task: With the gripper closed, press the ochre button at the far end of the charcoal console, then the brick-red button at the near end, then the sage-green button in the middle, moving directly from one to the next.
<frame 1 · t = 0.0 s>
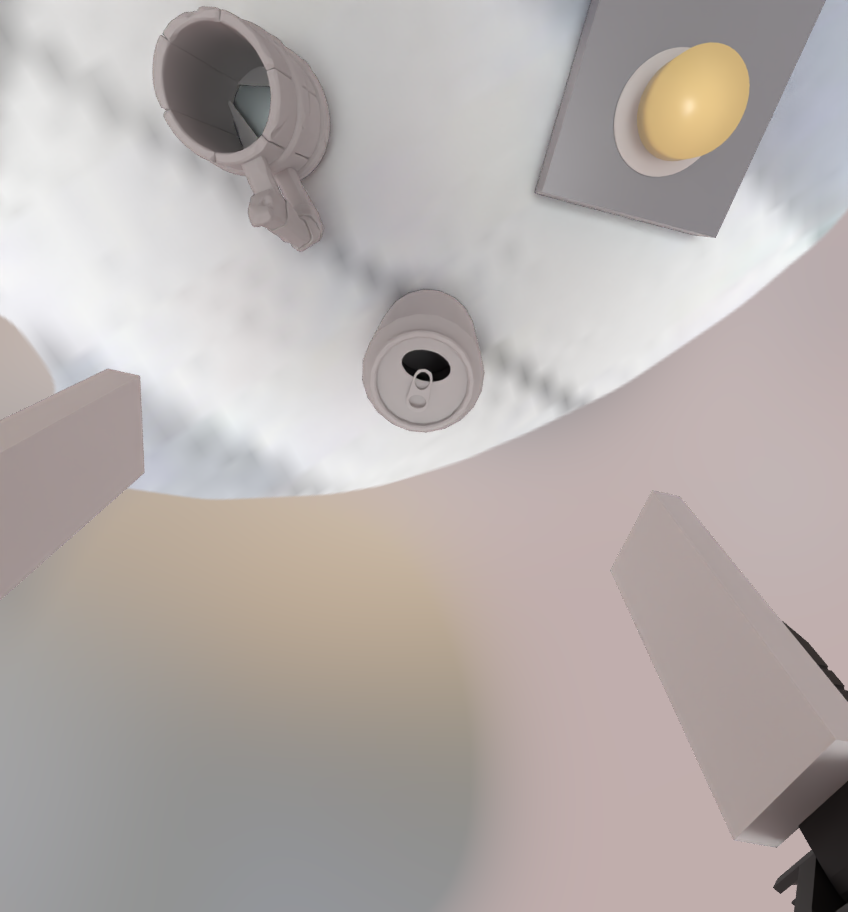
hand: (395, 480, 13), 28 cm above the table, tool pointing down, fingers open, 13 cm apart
can: (427, 336, 39), on the table
button ochre: (690, 106, 26), point 6 cm above the table, slide at 0.0 cm
mug: (292, 155, 34), on the table
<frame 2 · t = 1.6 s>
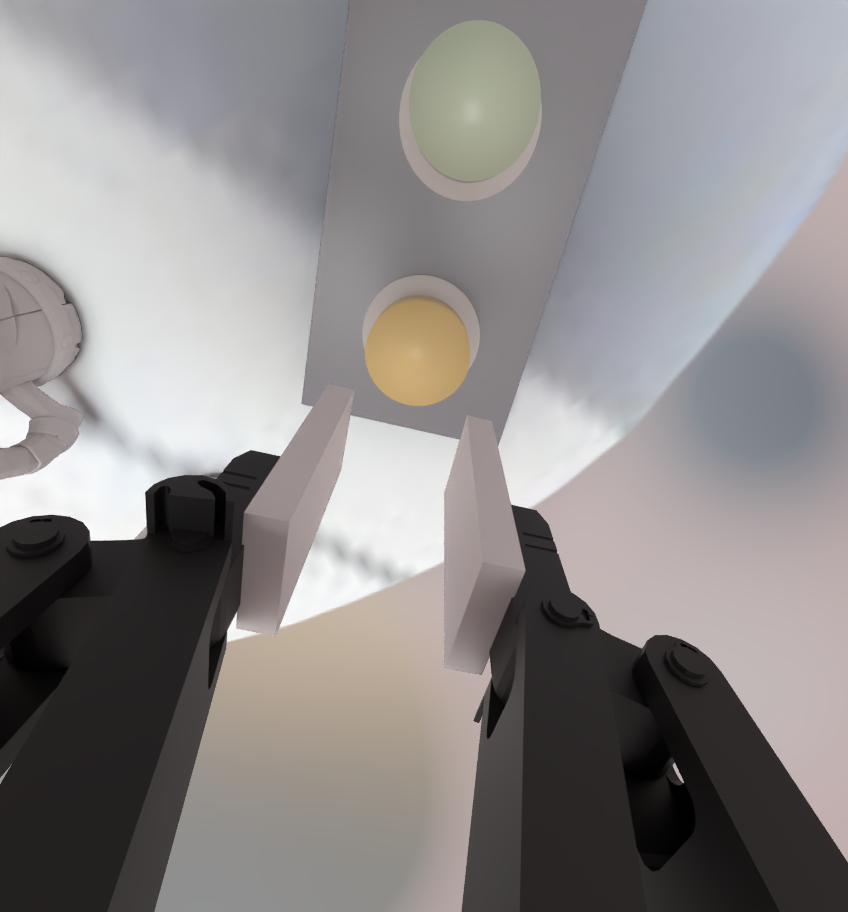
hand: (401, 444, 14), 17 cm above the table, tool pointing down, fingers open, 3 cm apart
console: (466, 131, 25), on the table
button sage: (473, 110, 19), point 6 cm above the table, slide at 0.0 cm
button ochre: (418, 351, 24), point 6 cm above the table, slide at 0.0 cm
mug: (48, 347, 31), on the table
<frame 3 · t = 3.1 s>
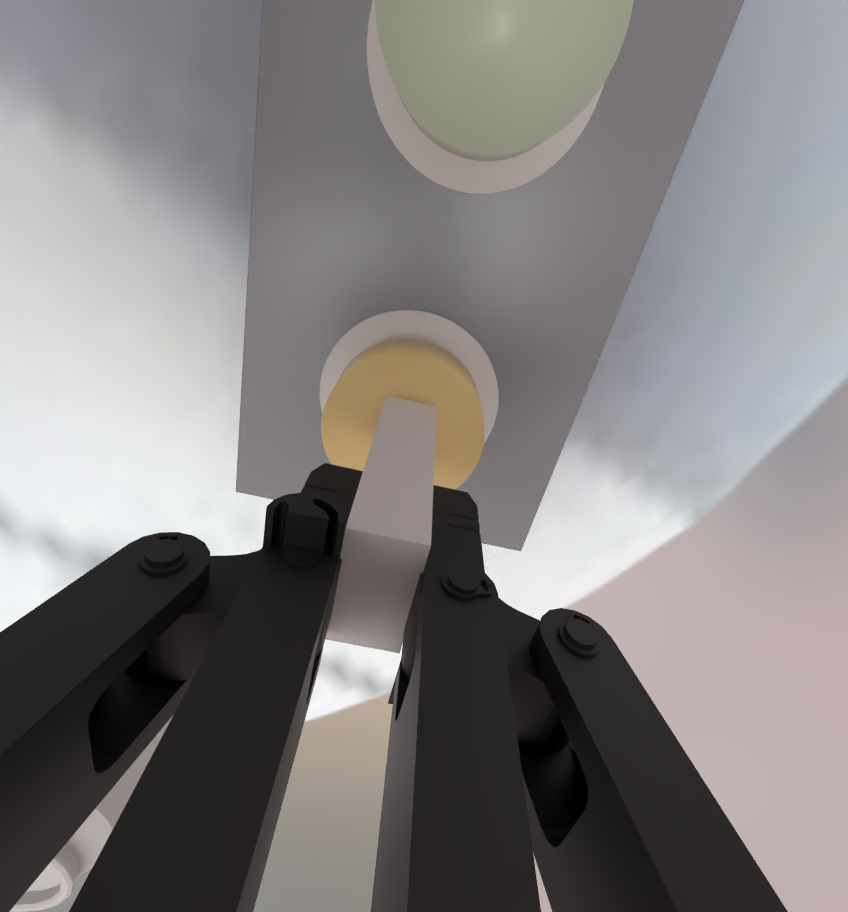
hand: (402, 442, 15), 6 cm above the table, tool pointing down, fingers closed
console: (479, 83, 16), on the table
can: (159, 611, 27), on the table
button sage: (498, 19, 10), point 6 cm above the table, slide at 0.0 cm
button ochre: (404, 423, 16), point 5 cm above the table, slide at 0.9 cm, touching gripper
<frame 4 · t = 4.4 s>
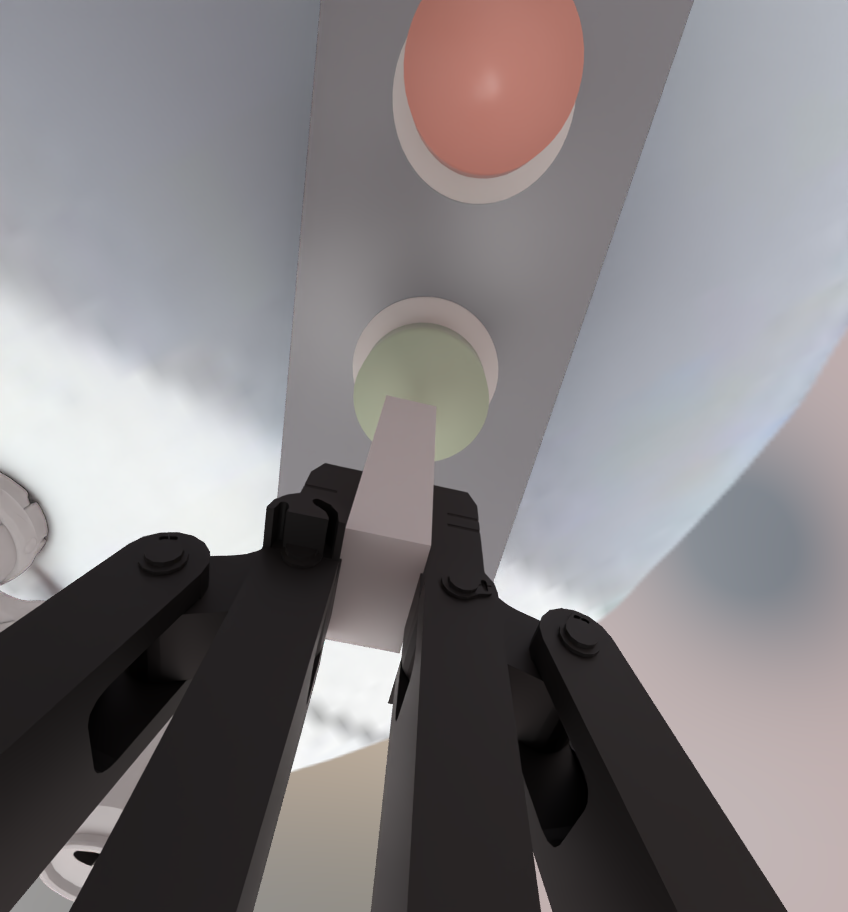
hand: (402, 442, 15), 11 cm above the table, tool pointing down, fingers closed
console: (427, 355, 24), on the table
can: (204, 680, 35), on the table
button sage: (422, 393, 19), point 6 cm above the table, slide at 0.0 cm
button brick: (489, 79, 14), point 6 cm above the table, slide at 0.0 cm
mug: (15, 538, 30), on the table
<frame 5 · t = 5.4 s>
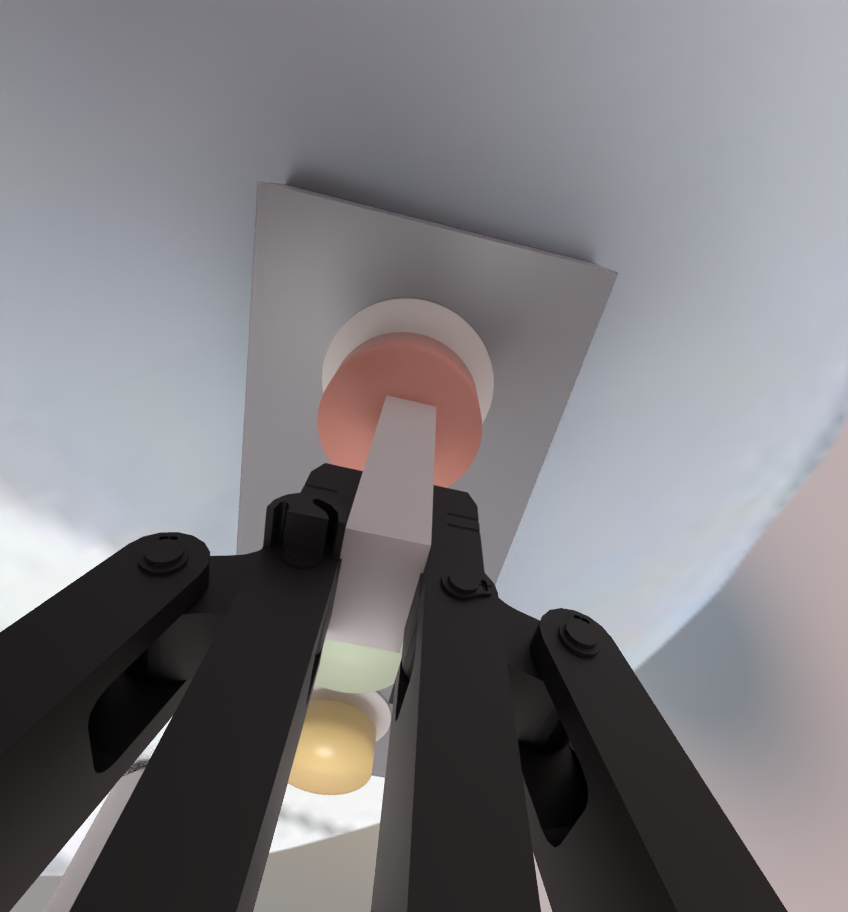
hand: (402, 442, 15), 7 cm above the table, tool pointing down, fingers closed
console: (372, 542, 25), on the table
can: (171, 784, 37), on the table
button sage: (353, 632, 20), point 6 cm above the table, slide at 0.0 cm
button ochre: (327, 748, 26), point 5 cm above the table, slide at 1.0 cm
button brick: (401, 417, 16), point 6 cm above the table, slide at 0.0 cm, touching gripper
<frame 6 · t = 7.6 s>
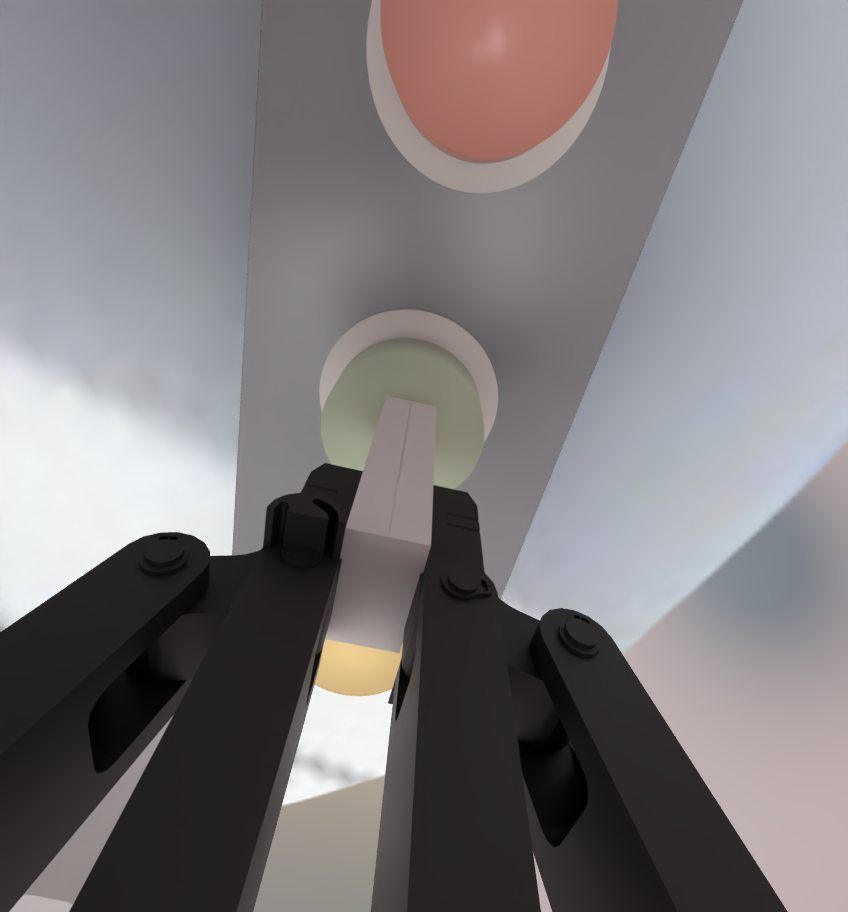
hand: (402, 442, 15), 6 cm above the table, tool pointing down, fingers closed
console: (413, 373, 20), on the table
can: (163, 719, 32), on the table
button sage: (404, 422, 16), point 5 cm above the table, slide at 0.9 cm, touching gripper
button ochre: (355, 635, 20), point 5 cm above the table, slide at 1.0 cm
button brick: (493, 34, 11), point 5 cm above the table, slide at 1.0 cm
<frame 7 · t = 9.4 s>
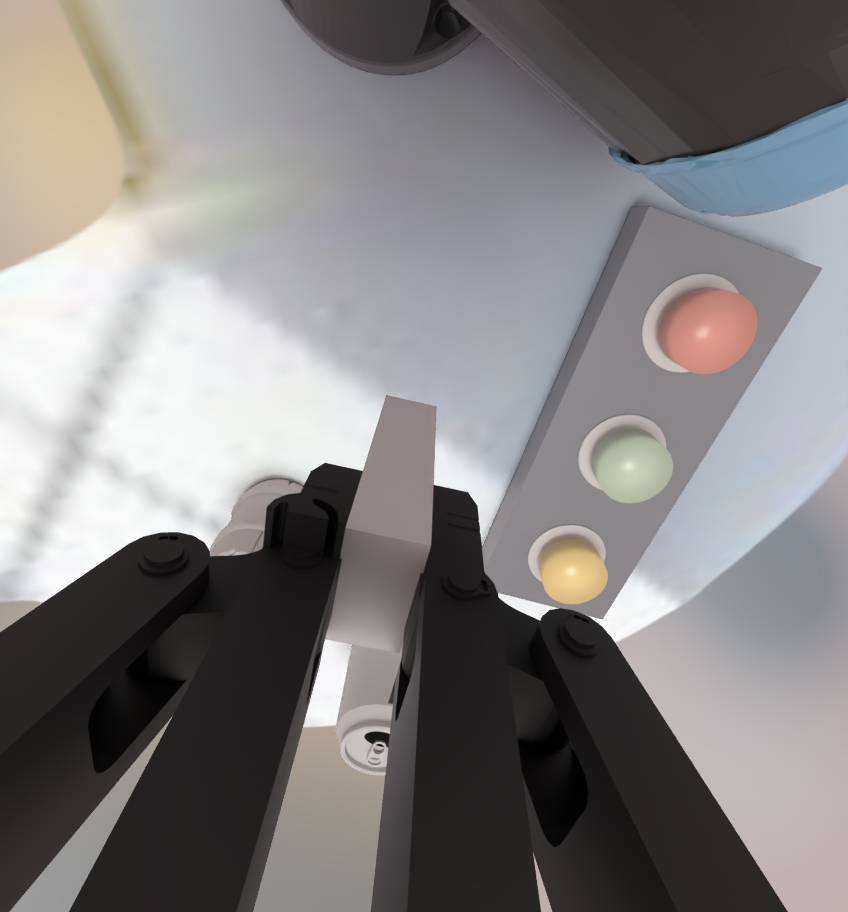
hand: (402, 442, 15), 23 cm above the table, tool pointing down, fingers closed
console: (608, 437, 39), on the table
can: (390, 636, 50), on the table
button sage: (630, 466, 35), point 5 cm above the table, slide at 1.0 cm
button ochre: (572, 571, 39), point 5 cm above the table, slide at 1.0 cm
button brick: (706, 330, 30), point 5 cm above the table, slide at 1.0 cm
mug: (292, 530, 44), on the table
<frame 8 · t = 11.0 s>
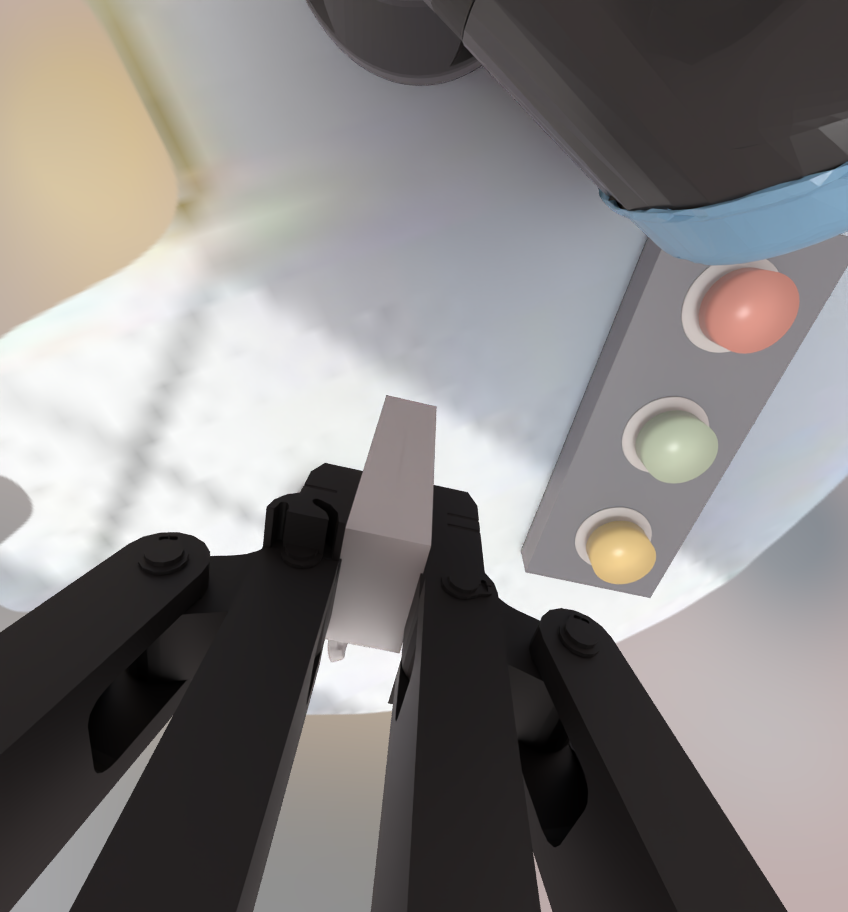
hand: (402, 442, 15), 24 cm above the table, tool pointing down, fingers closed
console: (649, 420, 40), on the table
button sage: (675, 447, 35), point 5 cm above the table, slide at 1.0 cm
button ochre: (620, 552, 40), point 5 cm above the table, slide at 1.0 cm
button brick: (746, 310, 31), point 5 cm above the table, slide at 1.0 cm
mug: (344, 526, 46), on the table
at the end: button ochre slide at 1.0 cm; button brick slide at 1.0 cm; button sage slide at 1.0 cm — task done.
